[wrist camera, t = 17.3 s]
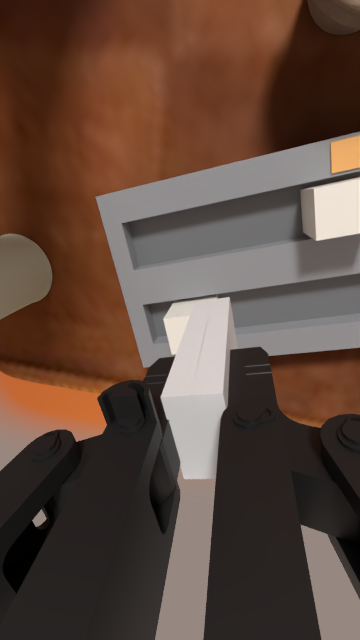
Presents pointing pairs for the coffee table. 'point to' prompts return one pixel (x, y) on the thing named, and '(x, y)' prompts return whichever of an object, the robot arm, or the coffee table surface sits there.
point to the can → (22, 273)
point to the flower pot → (336, 15)
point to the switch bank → (240, 251)
